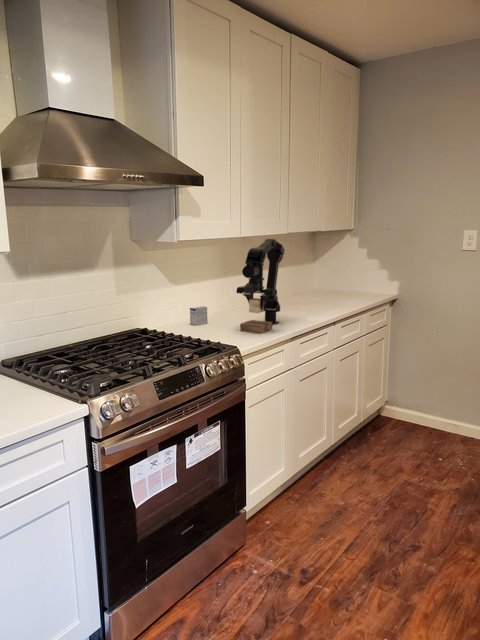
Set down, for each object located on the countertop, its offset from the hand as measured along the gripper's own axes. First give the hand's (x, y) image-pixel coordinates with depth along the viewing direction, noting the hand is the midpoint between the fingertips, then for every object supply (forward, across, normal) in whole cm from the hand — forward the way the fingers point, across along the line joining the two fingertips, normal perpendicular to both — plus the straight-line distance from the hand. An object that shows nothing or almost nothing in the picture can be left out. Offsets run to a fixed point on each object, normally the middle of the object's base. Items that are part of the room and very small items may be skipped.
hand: (256, 309), depth 239 cm
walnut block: (+10, 0, 0) cm, 11 cm away
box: (+10, -32, -1) cm, 34 cm away
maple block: (+1, 0, 0) cm, 1 cm away
